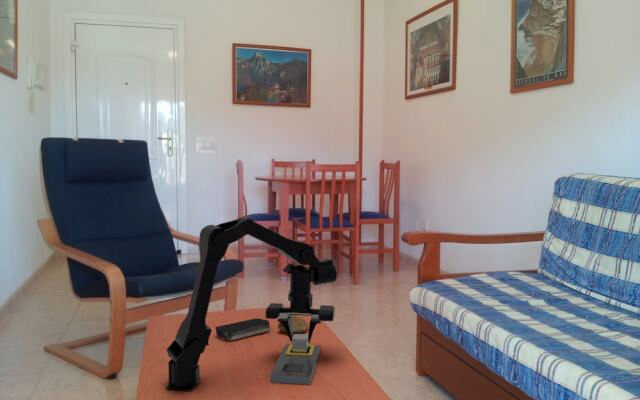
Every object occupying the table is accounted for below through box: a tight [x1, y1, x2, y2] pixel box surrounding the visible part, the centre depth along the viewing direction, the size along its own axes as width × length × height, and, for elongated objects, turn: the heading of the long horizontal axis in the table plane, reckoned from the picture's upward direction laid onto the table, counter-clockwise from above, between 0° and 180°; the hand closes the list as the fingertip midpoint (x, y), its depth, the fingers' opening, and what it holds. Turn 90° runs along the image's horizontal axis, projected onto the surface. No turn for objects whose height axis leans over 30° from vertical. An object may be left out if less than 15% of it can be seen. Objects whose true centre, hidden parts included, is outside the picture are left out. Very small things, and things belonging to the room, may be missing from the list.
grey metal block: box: [291, 333, 310, 353], centre depth 145 cm, size 4×4×6 cm
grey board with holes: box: [269, 343, 321, 386], centre depth 139 cm, size 10×21×2 cm, turn 173°
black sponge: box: [214, 317, 271, 341], centre depth 163 cm, size 16×8×4 cm, turn 128°
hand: (300, 341), depth 145 cm, fingers open, 5 cm apart
